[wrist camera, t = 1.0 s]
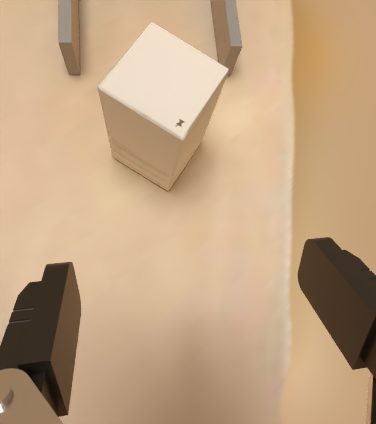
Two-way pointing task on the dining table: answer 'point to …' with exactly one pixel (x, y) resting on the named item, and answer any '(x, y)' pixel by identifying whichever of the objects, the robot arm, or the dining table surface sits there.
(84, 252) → the dining table surface
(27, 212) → the dining table surface
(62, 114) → the dining table surface
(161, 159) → the supplement box
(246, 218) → the dining table surface
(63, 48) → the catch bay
